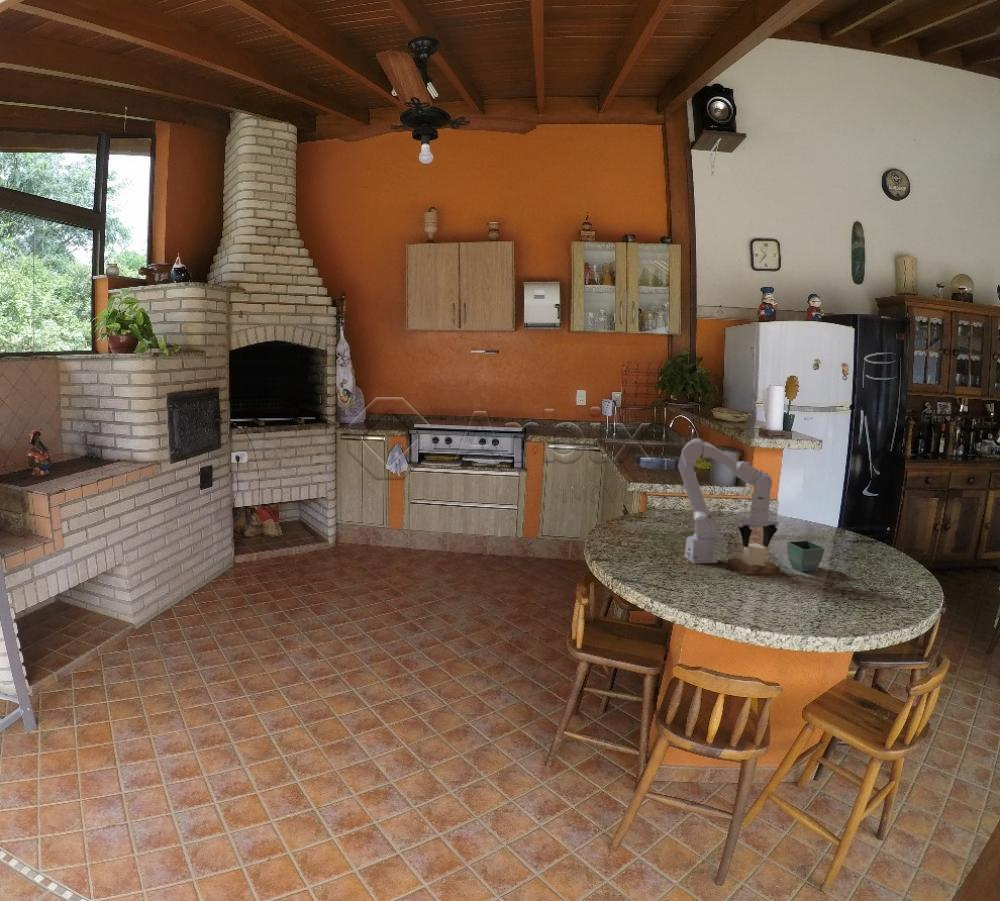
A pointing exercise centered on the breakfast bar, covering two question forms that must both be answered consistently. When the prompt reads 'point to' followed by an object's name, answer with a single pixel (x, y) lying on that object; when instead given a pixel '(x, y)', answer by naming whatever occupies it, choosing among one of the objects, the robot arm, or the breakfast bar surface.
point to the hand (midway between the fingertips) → (755, 546)
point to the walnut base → (753, 567)
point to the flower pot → (804, 555)
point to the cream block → (754, 554)
